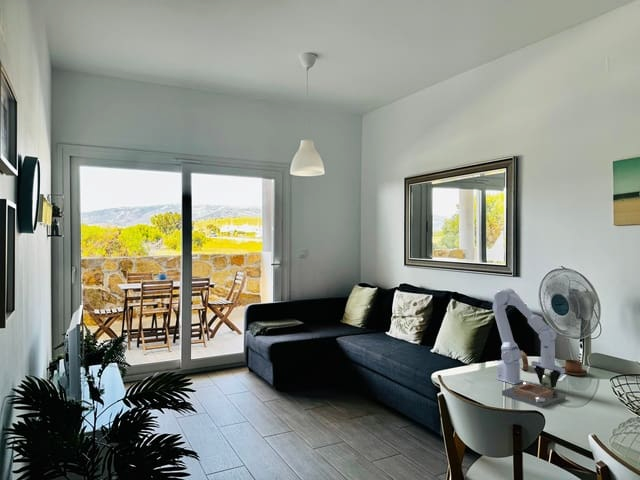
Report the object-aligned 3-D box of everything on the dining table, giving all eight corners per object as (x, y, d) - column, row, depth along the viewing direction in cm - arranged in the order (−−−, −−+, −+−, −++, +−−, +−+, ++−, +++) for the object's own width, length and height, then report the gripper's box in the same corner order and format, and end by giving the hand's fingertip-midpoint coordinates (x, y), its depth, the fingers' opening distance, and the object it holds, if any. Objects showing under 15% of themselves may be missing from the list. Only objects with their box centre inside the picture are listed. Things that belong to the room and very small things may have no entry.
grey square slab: (502, 395, 193) (502, 387, 193) (525, 387, 203) (525, 379, 203) (542, 408, 178) (542, 399, 178) (565, 399, 188) (565, 391, 188)
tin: (528, 372, 226) (528, 355, 226) (522, 371, 227) (522, 355, 227) (521, 364, 241) (521, 348, 241) (515, 363, 242) (515, 348, 242)
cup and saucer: (562, 368, 233) (562, 357, 233) (589, 373, 225) (589, 361, 225) (557, 374, 224) (557, 362, 224) (585, 379, 216) (585, 366, 216)
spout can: (539, 388, 201) (539, 372, 201) (545, 386, 204) (545, 370, 204) (550, 392, 197) (550, 375, 197) (556, 390, 200) (556, 373, 200)
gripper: (568, 357, 196) (568, 388, 196) (537, 350, 208) (537, 379, 208) (560, 360, 193) (560, 391, 193) (528, 352, 205) (528, 382, 205)
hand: (547, 385), depth 200 cm, fingers closed on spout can, 5 cm apart
